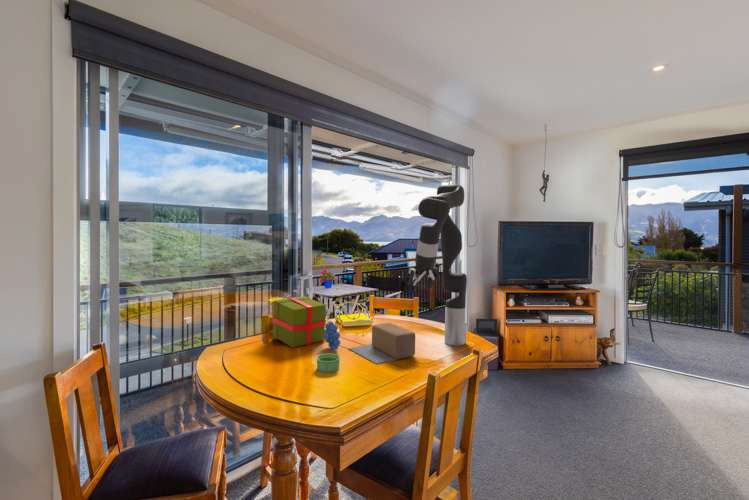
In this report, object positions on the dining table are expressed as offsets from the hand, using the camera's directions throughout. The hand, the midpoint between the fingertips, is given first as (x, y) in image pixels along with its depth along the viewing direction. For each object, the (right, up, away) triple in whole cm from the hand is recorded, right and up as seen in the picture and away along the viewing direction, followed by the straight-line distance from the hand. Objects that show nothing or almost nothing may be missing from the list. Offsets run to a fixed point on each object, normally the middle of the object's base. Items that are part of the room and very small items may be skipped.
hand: (420, 289), depth 141 cm
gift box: (-55, -28, +35) cm, 71 cm away
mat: (-15, -29, +17) cm, 37 cm away
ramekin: (-35, -30, -2) cm, 46 cm away
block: (-5, -24, +9) cm, 26 cm away
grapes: (-37, -29, +21) cm, 51 cm away
